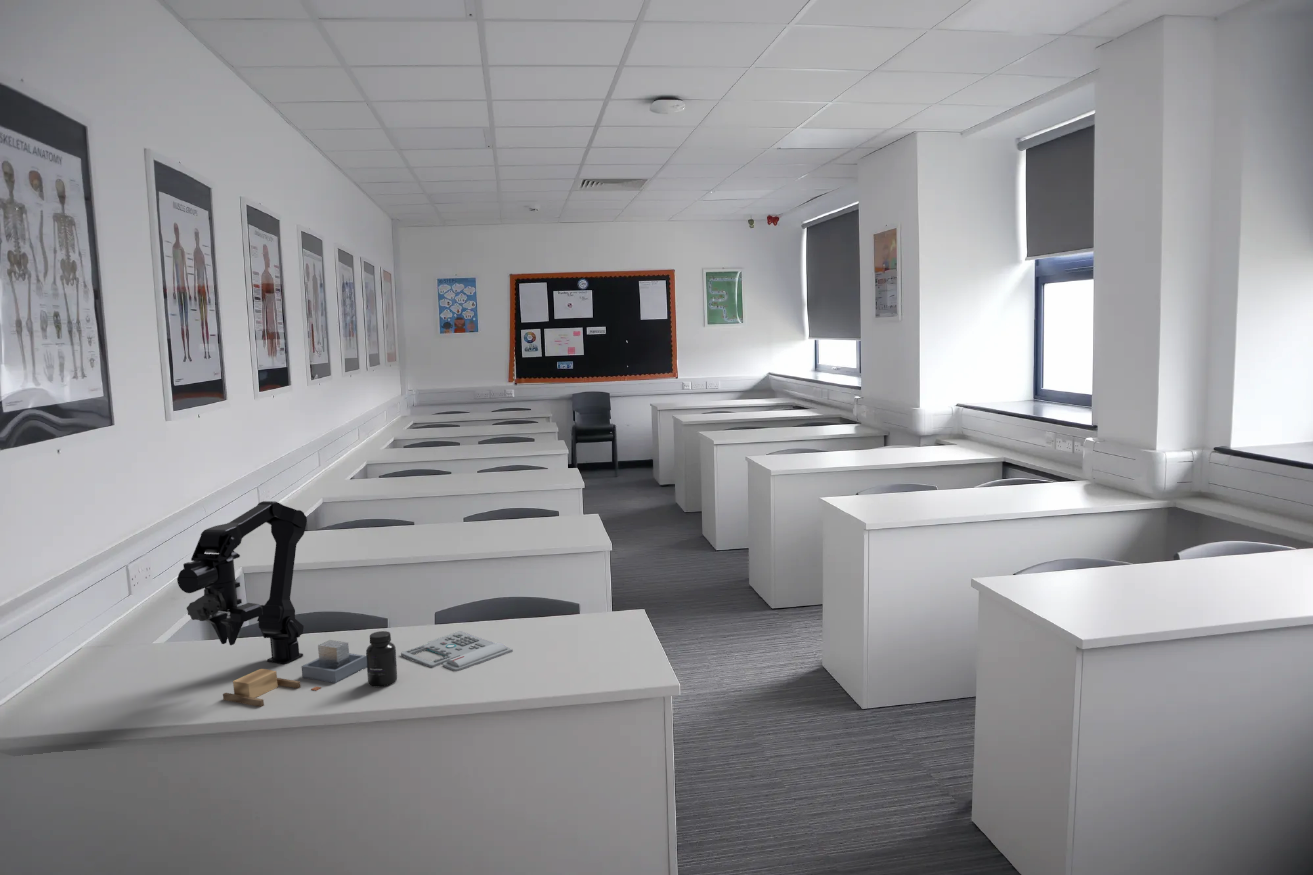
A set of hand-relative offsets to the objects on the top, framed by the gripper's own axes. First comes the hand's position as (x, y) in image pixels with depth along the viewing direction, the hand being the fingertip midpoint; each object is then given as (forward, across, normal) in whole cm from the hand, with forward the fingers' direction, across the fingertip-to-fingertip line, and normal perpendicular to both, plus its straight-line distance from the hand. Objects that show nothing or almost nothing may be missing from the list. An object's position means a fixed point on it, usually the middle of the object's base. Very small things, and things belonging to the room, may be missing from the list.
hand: (228, 644), depth 205 cm
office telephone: (+12, +38, +37) cm, 54 cm away
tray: (+11, +17, +16) cm, 26 cm away
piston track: (+11, +13, +1) cm, 17 cm away
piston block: (+11, +8, 0) cm, 14 cm away
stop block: (+11, +17, +16) cm, 26 cm away
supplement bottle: (+11, +33, +15) cm, 38 cm away
